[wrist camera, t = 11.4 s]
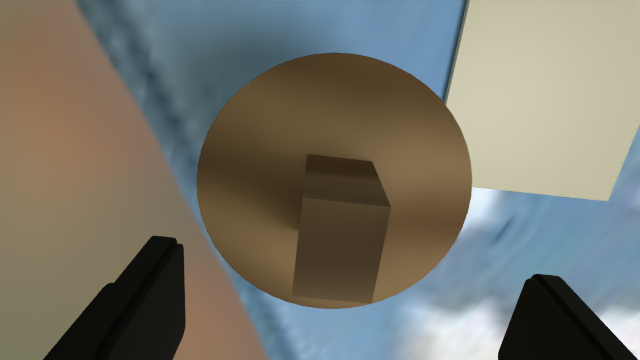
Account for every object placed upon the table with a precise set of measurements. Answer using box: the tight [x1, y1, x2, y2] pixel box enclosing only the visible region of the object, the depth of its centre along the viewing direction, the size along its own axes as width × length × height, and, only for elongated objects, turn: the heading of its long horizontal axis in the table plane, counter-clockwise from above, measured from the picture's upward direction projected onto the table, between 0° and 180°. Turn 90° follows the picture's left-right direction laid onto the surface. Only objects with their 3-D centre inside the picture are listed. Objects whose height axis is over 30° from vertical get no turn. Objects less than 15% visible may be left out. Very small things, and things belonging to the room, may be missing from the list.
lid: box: [197, 53, 472, 309], centre depth 16 cm, size 13×13×6 cm
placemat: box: [444, 0, 640, 201], centre depth 28 cm, size 20×15×1 cm
